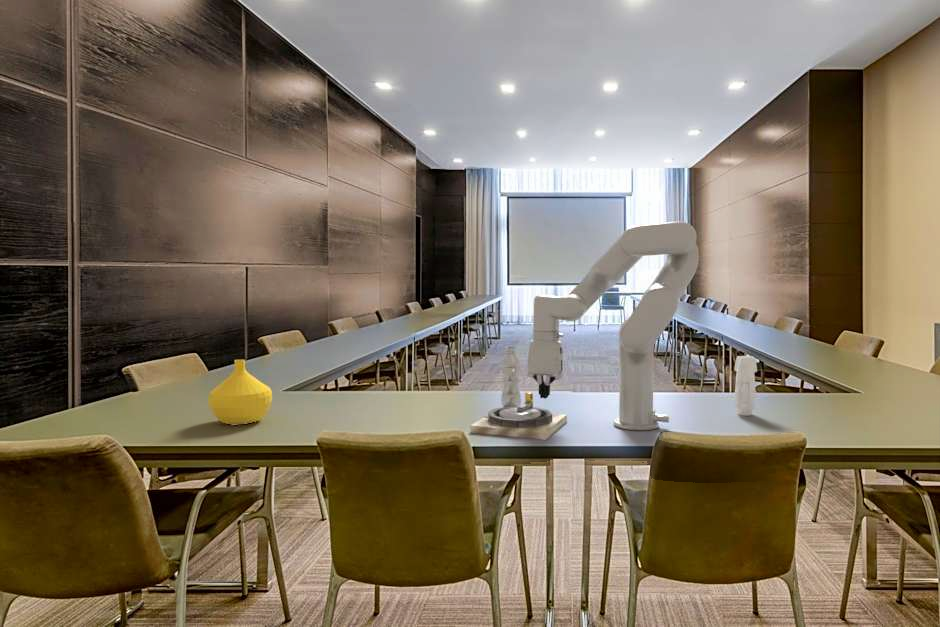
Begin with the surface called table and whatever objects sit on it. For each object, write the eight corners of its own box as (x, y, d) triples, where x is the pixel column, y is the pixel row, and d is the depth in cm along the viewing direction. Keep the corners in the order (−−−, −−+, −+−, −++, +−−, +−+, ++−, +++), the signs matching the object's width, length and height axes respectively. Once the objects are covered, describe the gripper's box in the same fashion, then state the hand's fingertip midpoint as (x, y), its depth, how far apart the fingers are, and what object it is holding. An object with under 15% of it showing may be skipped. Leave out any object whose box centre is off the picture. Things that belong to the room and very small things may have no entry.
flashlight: (733, 411, 199) (732, 415, 193) (734, 354, 198) (733, 357, 192) (756, 412, 197) (756, 417, 190) (757, 355, 195) (757, 358, 189)
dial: (533, 425, 175) (533, 404, 174) (493, 421, 180) (493, 401, 179) (549, 413, 189) (549, 393, 189) (511, 410, 194) (511, 391, 193)
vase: (202, 430, 183) (199, 365, 182) (217, 416, 201) (215, 357, 200) (268, 427, 186) (265, 363, 184) (277, 413, 204) (275, 355, 202)
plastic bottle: (520, 410, 204) (519, 349, 203) (499, 409, 206) (498, 348, 204) (522, 405, 211) (521, 346, 209) (502, 405, 212) (501, 346, 211)
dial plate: (566, 421, 188) (566, 408, 188) (545, 439, 168) (545, 425, 168) (497, 415, 197) (497, 402, 197) (469, 432, 177) (469, 418, 177)
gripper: (573, 336, 187) (571, 397, 189) (525, 334, 193) (524, 393, 194) (567, 339, 180) (565, 402, 182) (517, 336, 186) (516, 397, 188)
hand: (544, 397), depth 188 cm, fingers closed
